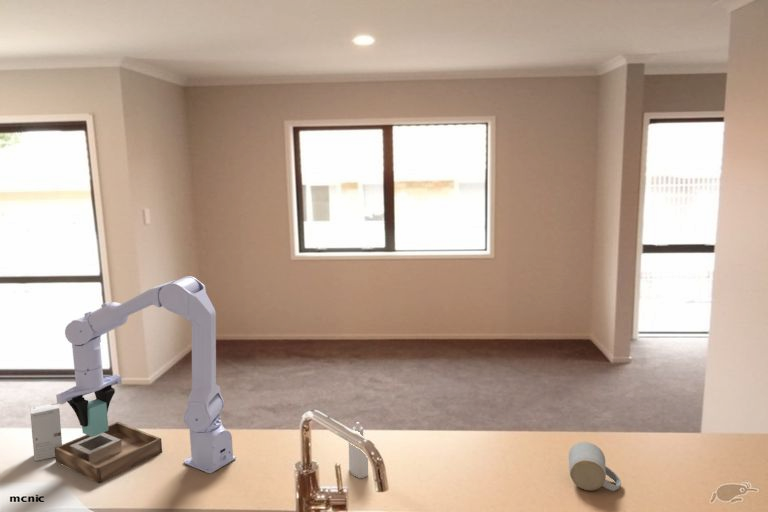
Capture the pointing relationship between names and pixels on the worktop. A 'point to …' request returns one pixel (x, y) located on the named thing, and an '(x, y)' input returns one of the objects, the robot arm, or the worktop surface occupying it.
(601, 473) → the ceramic mug
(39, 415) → the skincare box
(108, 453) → the metal socket
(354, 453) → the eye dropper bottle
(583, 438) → the worktop surface
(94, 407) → the teal plug
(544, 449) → the worktop surface
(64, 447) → the walnut tray
